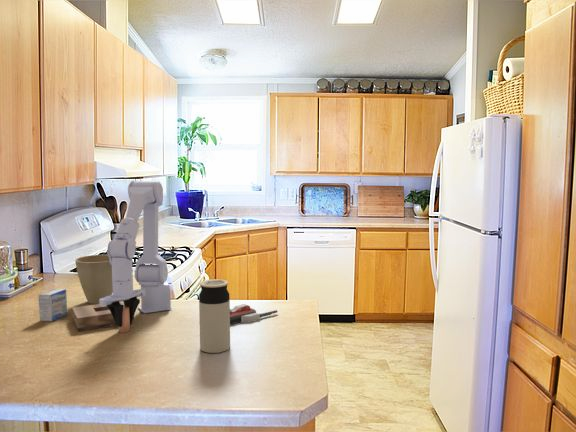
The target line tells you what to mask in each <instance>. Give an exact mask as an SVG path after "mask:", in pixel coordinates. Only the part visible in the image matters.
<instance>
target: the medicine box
mask: <svg viewBox="0 0 576 432" xmlns="http://www.w3.org/2000/svg"><path fill="white" fill-rule="evenodd" d="M67 301H68V300H67V289H65V288H55V289H50V290H49V291H46V292H43V293H40V294H38V312H39V321H41V322H51V323H52V322H54V321H56V320H59V319H61V318H63V317H65V316H67V315H68V302H67Z"/></svg>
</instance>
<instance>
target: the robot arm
mask: <svg viewBox="0 0 576 432" xmlns="http://www.w3.org/2000/svg"><path fill="white" fill-rule="evenodd" d="M127 194H128V198H129V204H128V207H127V211H126V216H125V217H124V218H122V219H121V220H120V222H119V226H118V227H117V230H116V233H115V236H114V238H113V239H112V240H110V241H109V242H108V245H107V251H106V255H108V257H109V260H110V264H111V265H112V285H113V293H112V295H109V296H107V297H104V298H101V299H99V305H100V306H103V307H104V306H107V307H108V308H109V310H110V312H111V314H112V316H113V318H114V321H115V325H116V327H118V328H119V327H122V312H123V307H124V306H127V307H129V312H130V325H131V324H133V323H134V318H135V314H136V310H137V309H138V310H139V311H141V312H142V314H150V313H156V312H163V311H170V310H172V307H171V305H172V303H171V302H172V301H171V300H172V299H171V288H170V284H169V282H167V279H168V275H169V271H168V266H167V264H168V263H167V260H166V259H164V257H162V256H161V255H160V254H159V207H161V206H162V205H163V202H164V187H163V186H162V183H161V182H160V181H159V180H156V181H153V180H151V181H150V180H149V181H148V180H147V181H146V180H145V181H144V180H141V181H138V180H137V181H135V180H131V181H130V182H129V184H128V185H127ZM141 214H143V215H141ZM140 216H143V217H142V218H143V219H142V221H143V222H142V223H143V226H142V228H143V229H142V230H143V233H142V241H143V242H142V244H143V245H142V246H143V249H142V250H143V251H142V254H143V255H142V256H141V257H139V258H138V259H137V260H136V262H135V263H136V264H135V269H134V274H133V258H134V257H135V254H136V249H137V247H136V245H137V242H136V238H137V236H138V233H139V229H140V228H141V227H140V223H139V222H138V221H139V219H140ZM133 276H134V278H133ZM133 279H135V281H136V283H138V285H139V286H140V289H139V288H138V289H134V280H133ZM139 297H140V298H141V299H140V298H139ZM121 301H123V302H124V305H121V304H120V303H119V302H121ZM140 303H141V305H140V306H139V304H140Z"/></svg>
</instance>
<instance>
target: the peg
mask: <svg viewBox="0 0 576 432" xmlns="http://www.w3.org/2000/svg"><path fill="white" fill-rule="evenodd" d="M130 331H131V324H130V312H129V307H127V306H124V307H123V312H122V327H118V333H121V334H123V333H128V332H130Z"/></svg>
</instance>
